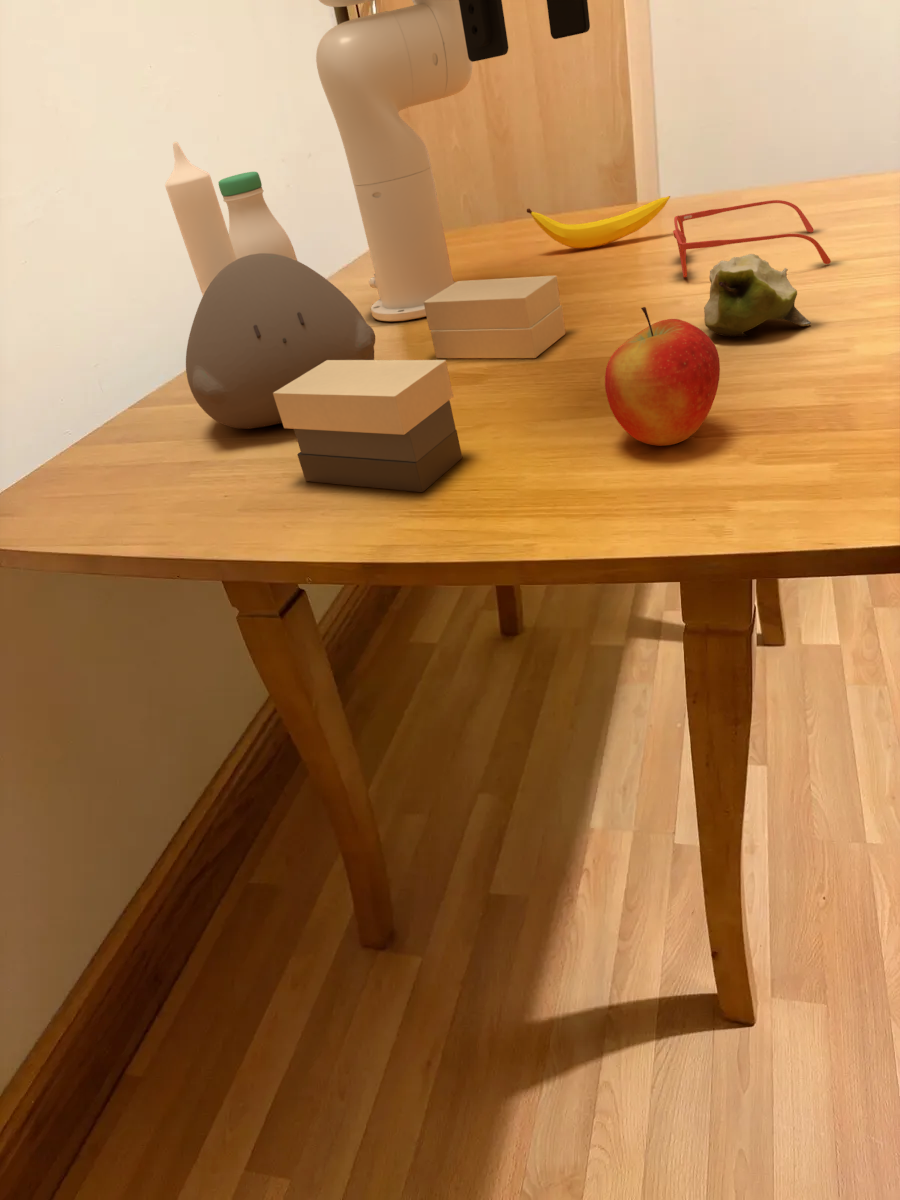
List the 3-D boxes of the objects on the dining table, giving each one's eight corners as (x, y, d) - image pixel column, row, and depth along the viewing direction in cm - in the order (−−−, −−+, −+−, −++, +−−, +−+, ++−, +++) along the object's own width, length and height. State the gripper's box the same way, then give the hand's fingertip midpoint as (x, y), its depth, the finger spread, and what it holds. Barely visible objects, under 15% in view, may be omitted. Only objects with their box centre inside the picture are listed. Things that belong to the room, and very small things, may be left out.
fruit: (753, 366, 80) (731, 280, 76) (690, 353, 88) (666, 275, 84) (834, 315, 81) (816, 229, 77) (764, 308, 89) (745, 229, 85)
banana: (672, 238, 119) (668, 186, 115) (531, 259, 124) (524, 211, 121) (673, 232, 121) (670, 182, 117) (535, 254, 127) (528, 206, 123)
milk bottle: (332, 338, 111) (284, 163, 100) (299, 361, 105) (244, 178, 95) (282, 342, 114) (230, 172, 104) (247, 364, 109) (189, 188, 98)
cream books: (434, 358, 96) (422, 302, 93) (468, 335, 100) (457, 280, 97) (535, 358, 89) (526, 297, 86) (566, 333, 94) (558, 275, 91)
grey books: (305, 481, 75) (287, 425, 72) (348, 450, 79) (332, 396, 76) (422, 492, 68) (408, 432, 66) (462, 457, 72) (450, 399, 70)
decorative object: (358, 360, 101) (321, 220, 93) (406, 403, 86) (367, 241, 78) (198, 410, 97) (145, 269, 89) (219, 464, 82) (158, 300, 74)
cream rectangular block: (283, 428, 72) (272, 392, 70) (336, 393, 76) (326, 359, 75) (404, 435, 65) (394, 396, 64) (453, 396, 70) (446, 359, 68)
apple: (701, 465, 63) (692, 324, 58) (595, 459, 67) (578, 327, 62) (736, 418, 68) (732, 285, 63) (636, 414, 73) (624, 290, 67)
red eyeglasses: (675, 251, 113) (672, 208, 110) (812, 229, 108) (812, 184, 106) (675, 290, 99) (672, 243, 96) (832, 267, 94) (833, 217, 92)
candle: (297, 373, 101) (224, 129, 88) (267, 398, 96) (184, 141, 83) (244, 378, 104) (165, 141, 91) (213, 402, 98) (124, 154, 85)
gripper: (525, -247, 63) (559, 36, 72) (348, -252, 53) (413, 76, 62) (616, -291, 58) (641, 18, 67) (440, -306, 48) (496, 58, 57)
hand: (531, 46), depth 64 cm, fingers open, 9 cm apart
